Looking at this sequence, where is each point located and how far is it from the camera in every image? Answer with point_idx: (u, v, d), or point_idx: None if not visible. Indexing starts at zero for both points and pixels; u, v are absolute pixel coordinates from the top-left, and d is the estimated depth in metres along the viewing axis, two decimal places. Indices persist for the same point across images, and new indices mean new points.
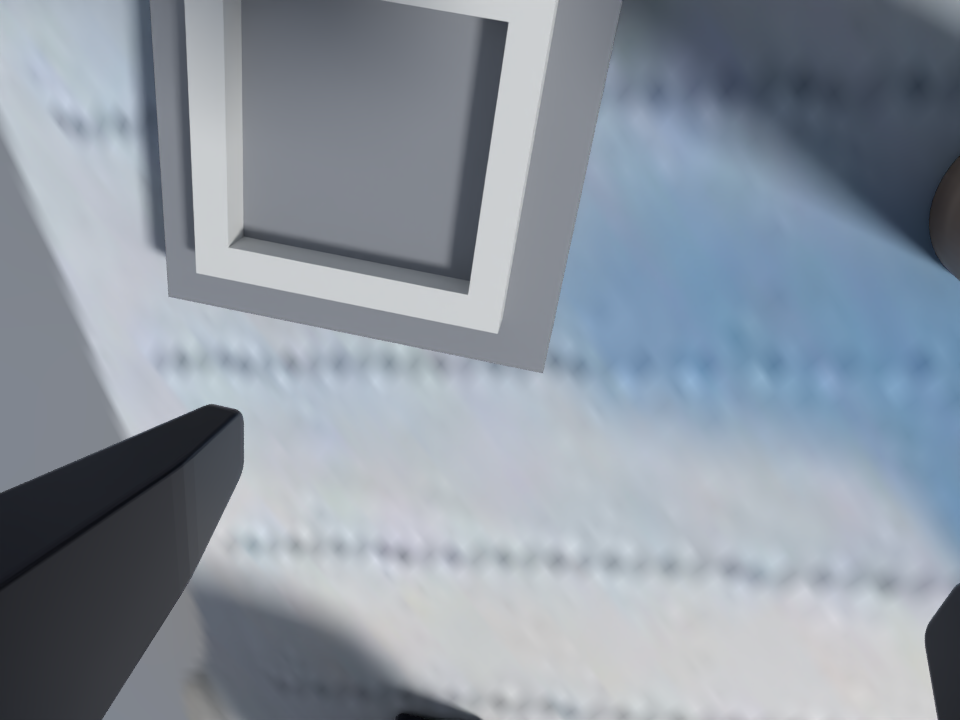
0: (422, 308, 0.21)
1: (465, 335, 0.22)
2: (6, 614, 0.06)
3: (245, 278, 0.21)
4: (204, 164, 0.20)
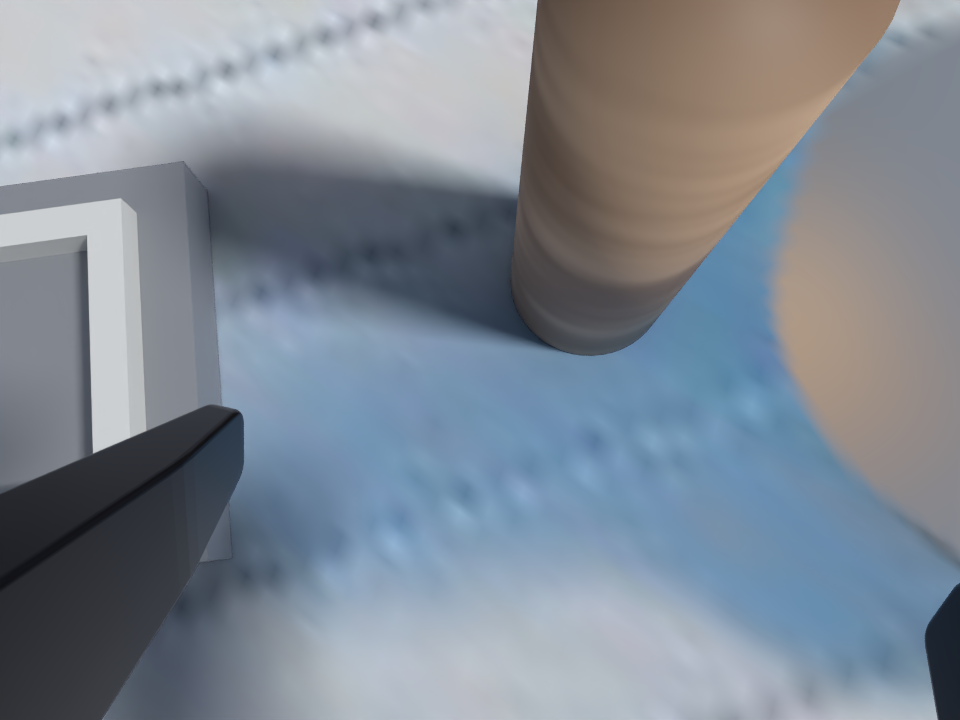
0: None
1: None
2: (6, 614, 0.06)
3: None
4: None
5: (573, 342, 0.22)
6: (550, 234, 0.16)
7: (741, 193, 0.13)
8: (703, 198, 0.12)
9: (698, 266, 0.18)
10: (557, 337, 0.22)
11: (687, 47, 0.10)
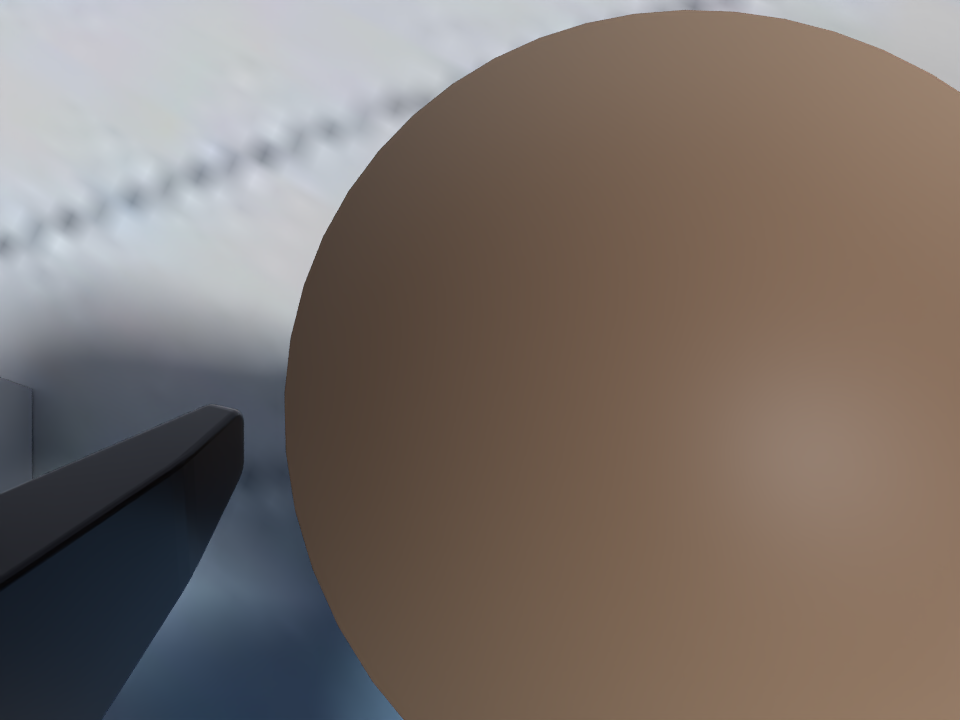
0: None
1: None
2: (7, 614, 0.06)
3: None
4: None
5: None
6: None
7: None
8: None
9: None
10: None
11: (637, 697, 0.04)
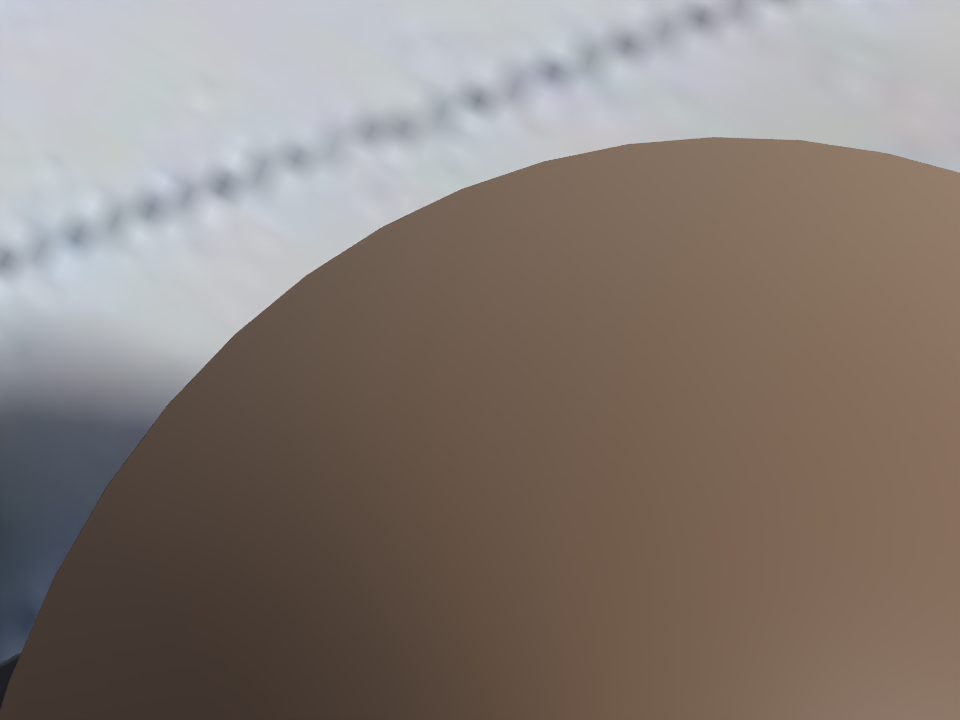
0: None
1: None
2: None
3: None
4: None
5: None
6: None
7: None
8: None
9: None
10: None
11: None
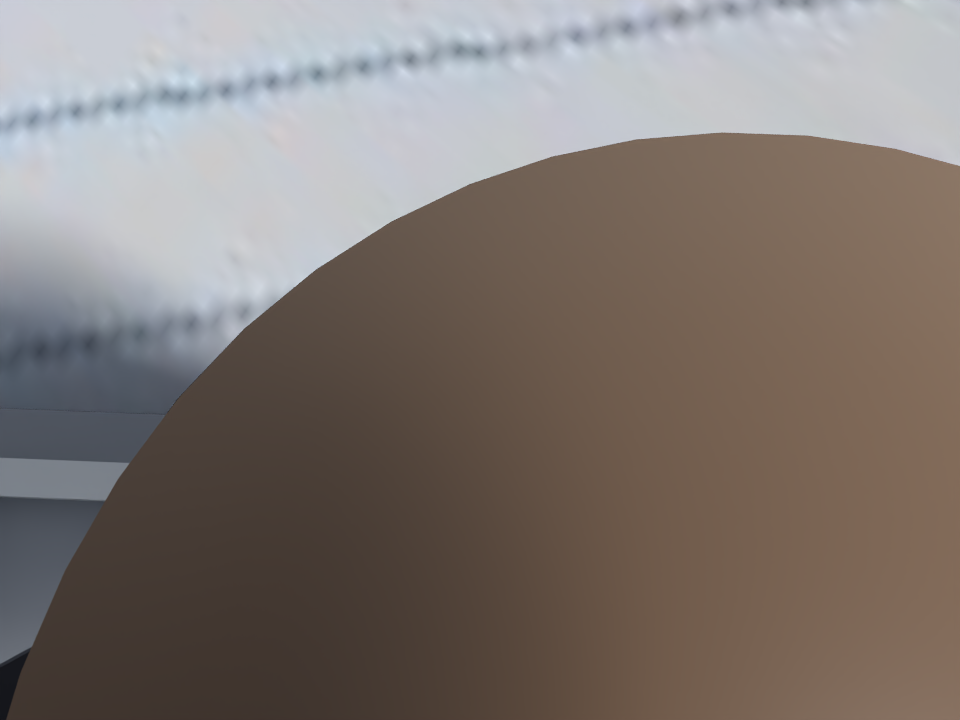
0: None
1: None
2: None
3: None
4: None
5: None
6: None
7: None
8: None
9: None
10: None
11: None
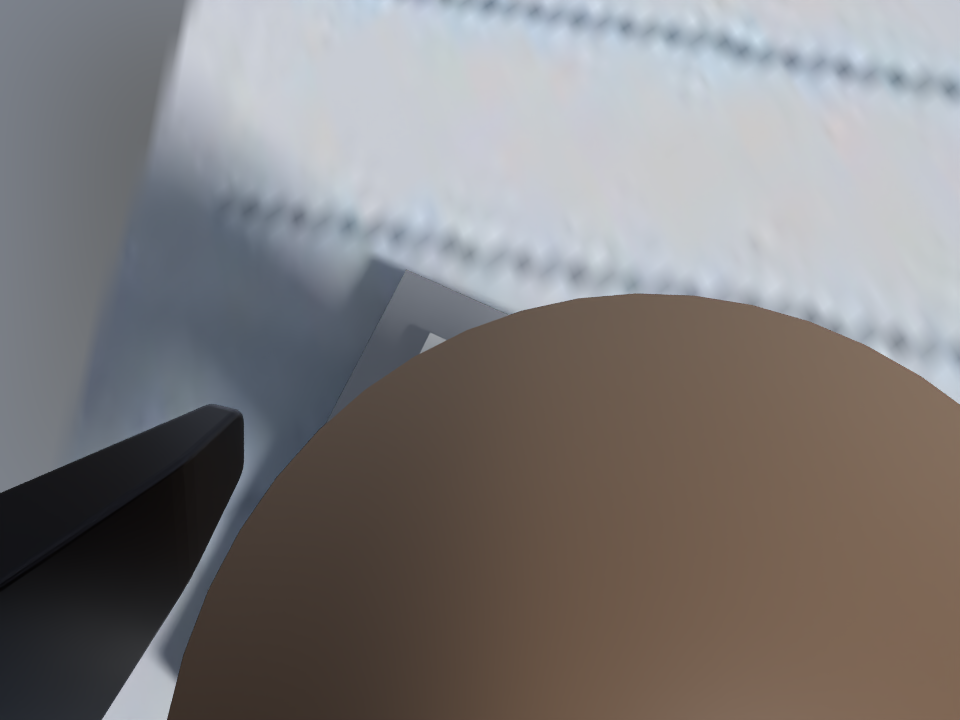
0: None
1: None
2: (6, 614, 0.06)
3: None
4: None
5: None
6: None
7: None
8: None
9: None
10: None
11: None
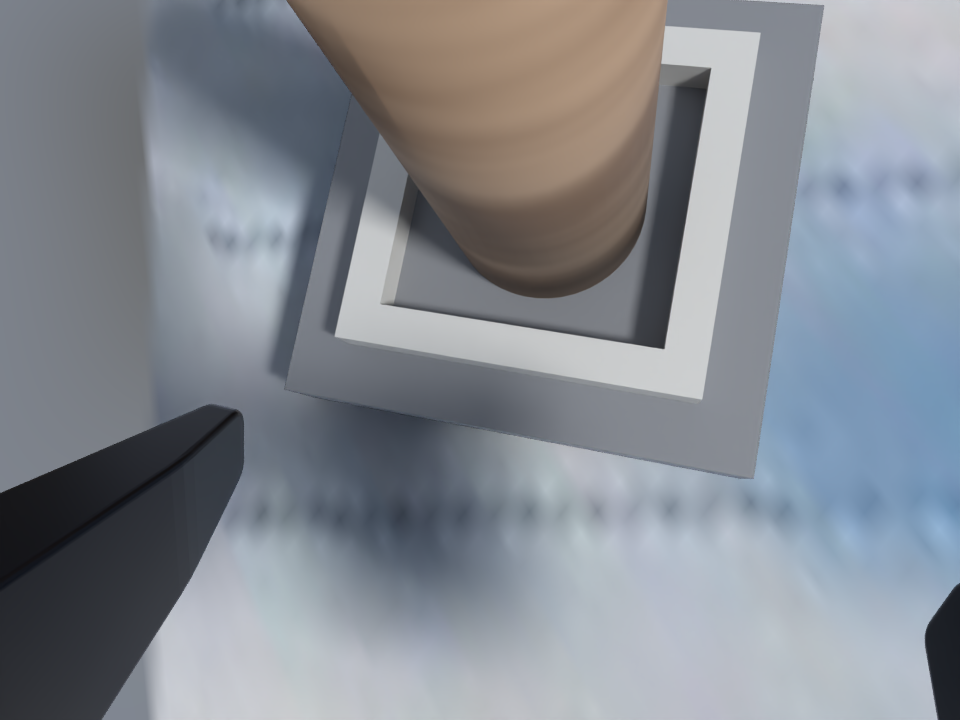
0: (605, 369, 0.17)
1: (649, 427, 0.18)
2: (6, 614, 0.06)
3: (392, 341, 0.18)
4: (375, 214, 0.19)
5: (541, 285, 0.17)
6: (412, 162, 0.12)
7: (608, 4, 0.08)
8: (542, 30, 0.08)
9: (641, 142, 0.13)
10: (521, 284, 0.18)
11: None
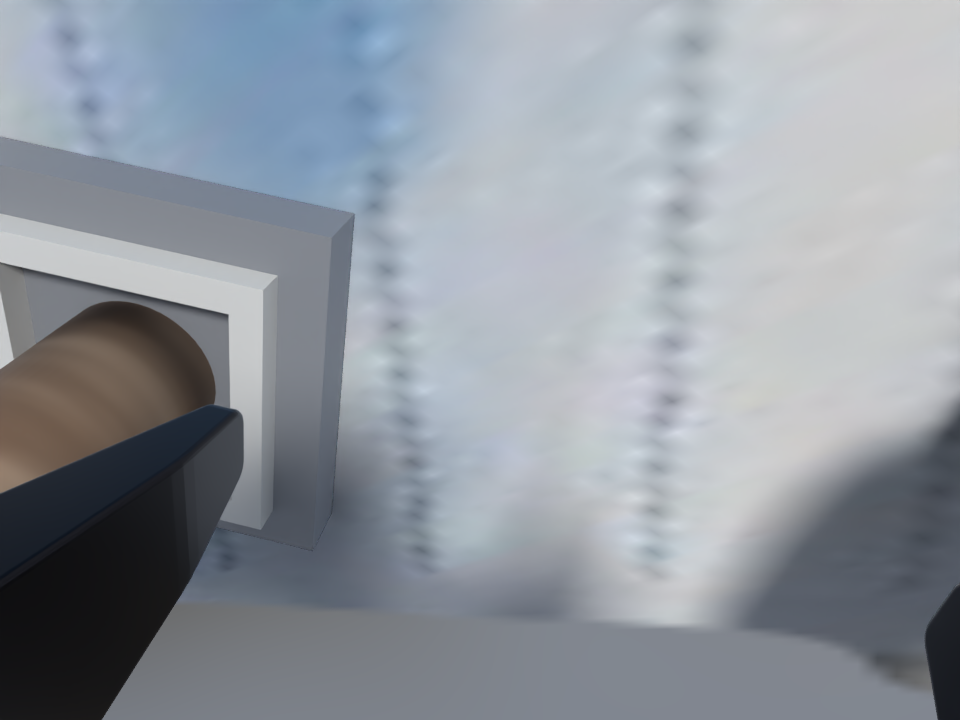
0: (251, 356, 0.21)
1: (302, 312, 0.21)
2: (6, 614, 0.06)
3: (257, 495, 0.24)
4: None
5: (194, 400, 0.22)
6: None
7: None
8: None
9: (25, 425, 0.17)
10: None
11: None
